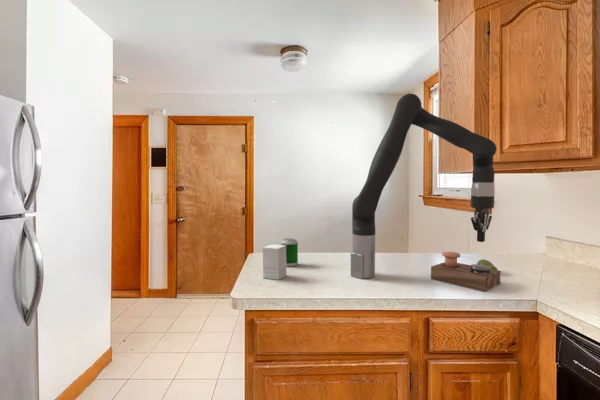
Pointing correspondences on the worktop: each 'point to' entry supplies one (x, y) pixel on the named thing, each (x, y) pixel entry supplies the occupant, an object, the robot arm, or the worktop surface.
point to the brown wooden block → (465, 276)
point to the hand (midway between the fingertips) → (480, 241)
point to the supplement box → (274, 261)
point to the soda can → (291, 251)
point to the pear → (487, 263)
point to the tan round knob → (451, 259)
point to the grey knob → (480, 268)
